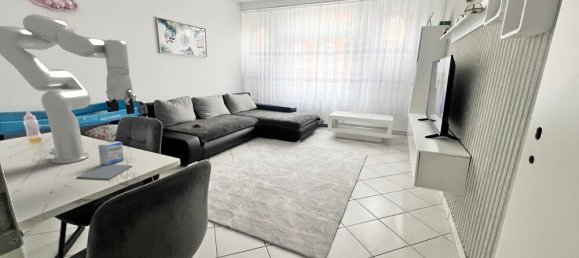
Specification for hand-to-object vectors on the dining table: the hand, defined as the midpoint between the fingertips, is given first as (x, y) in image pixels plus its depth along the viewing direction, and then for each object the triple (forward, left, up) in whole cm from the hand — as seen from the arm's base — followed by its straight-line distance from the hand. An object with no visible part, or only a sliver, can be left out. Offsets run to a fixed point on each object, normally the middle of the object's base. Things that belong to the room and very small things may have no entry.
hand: (122, 112), depth 105 cm
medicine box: (-7, -1, -23) cm, 24 cm away
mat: (-2, -11, -23) cm, 26 cm away
